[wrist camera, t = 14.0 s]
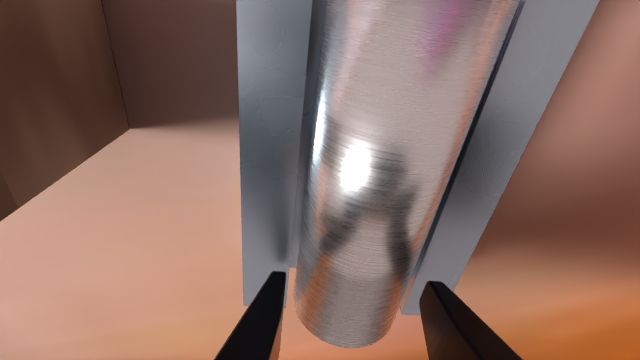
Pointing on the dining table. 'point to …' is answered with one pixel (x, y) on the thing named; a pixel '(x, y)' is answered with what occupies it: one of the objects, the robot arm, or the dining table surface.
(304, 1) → the cradle
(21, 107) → the brown boxy piece
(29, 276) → the dining table surface
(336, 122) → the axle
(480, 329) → the robot arm
